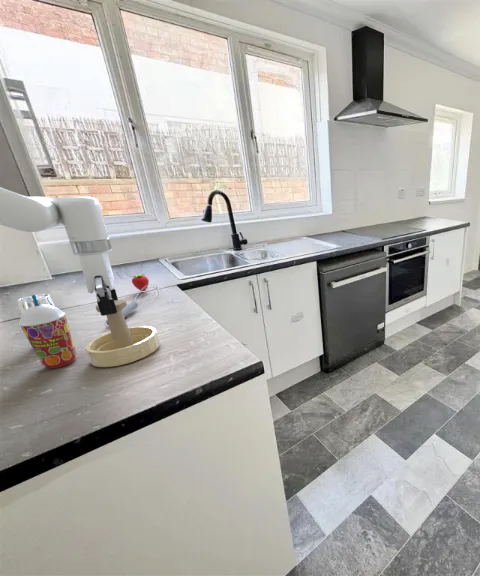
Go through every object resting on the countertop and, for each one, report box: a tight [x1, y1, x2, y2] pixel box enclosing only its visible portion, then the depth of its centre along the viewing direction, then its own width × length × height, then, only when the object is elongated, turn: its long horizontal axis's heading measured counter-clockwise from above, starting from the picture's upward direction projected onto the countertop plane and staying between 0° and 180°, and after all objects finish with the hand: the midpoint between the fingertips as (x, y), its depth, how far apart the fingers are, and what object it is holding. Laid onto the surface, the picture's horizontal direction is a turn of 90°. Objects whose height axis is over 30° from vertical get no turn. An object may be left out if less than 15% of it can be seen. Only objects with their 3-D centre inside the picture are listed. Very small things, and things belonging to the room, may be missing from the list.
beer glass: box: [16, 293, 55, 315], centre depth 94 cm, size 7×7×15 cm
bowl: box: [84, 325, 161, 368], centre depth 88 cm, size 16×16×5 cm
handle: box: [95, 299, 133, 349], centre depth 87 cm, size 5×6×15 cm
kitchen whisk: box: [104, 283, 163, 328], centre depth 119 cm, size 6×34×6 cm, turn 10°
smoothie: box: [18, 294, 77, 369], centre depth 82 cm, size 8×8×20 cm
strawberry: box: [130, 272, 150, 292], centre depth 139 cm, size 6×8×10 cm
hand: (110, 308), depth 84 cm, fingers open, 9 cm apart
